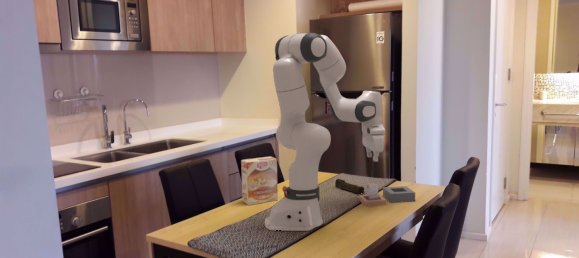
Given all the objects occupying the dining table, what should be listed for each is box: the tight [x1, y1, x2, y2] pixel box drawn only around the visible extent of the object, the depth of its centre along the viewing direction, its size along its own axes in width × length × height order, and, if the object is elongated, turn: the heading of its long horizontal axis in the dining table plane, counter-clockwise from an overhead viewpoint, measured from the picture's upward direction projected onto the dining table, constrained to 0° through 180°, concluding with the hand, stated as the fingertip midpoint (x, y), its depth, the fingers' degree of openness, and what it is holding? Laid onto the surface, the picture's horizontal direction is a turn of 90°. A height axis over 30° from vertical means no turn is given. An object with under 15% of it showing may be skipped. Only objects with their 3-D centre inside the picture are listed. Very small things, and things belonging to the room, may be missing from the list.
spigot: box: [366, 182, 379, 200], centre depth 193 cm, size 4×4×8 cm
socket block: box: [382, 185, 416, 204], centre depth 197 cm, size 11×11×4 cm
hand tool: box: [334, 178, 365, 195], centre depth 213 cm, size 19×4×5 cm, turn 32°
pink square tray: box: [358, 193, 387, 207], centre depth 193 cm, size 10×10×2 cm
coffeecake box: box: [240, 155, 279, 206], centre depth 199 cm, size 15×7×20 cm, turn 118°
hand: (372, 159), depth 191 cm, fingers open, 8 cm apart
